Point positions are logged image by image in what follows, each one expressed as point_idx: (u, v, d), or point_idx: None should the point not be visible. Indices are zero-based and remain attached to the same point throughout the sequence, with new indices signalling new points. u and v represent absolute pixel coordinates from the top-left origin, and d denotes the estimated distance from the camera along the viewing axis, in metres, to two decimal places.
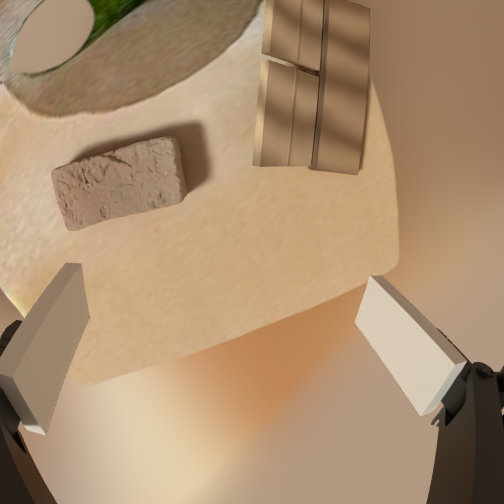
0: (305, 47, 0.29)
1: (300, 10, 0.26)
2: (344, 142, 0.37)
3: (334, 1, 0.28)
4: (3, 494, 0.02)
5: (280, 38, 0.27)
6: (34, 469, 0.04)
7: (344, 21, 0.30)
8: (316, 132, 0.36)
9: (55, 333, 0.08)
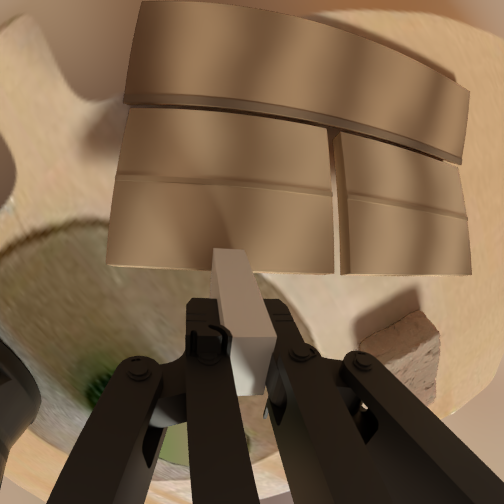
0: (293, 167, 0.16)
1: (201, 181, 0.15)
2: (436, 102, 0.18)
3: (140, 81, 0.14)
4: (218, 462, 0.05)
5: (298, 244, 0.16)
6: None
7: (194, 58, 0.14)
8: (423, 150, 0.19)
9: None
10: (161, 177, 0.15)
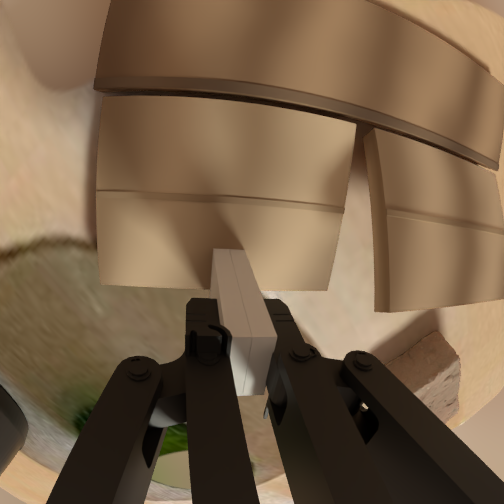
0: (305, 178, 0.14)
1: (194, 197, 0.13)
2: (475, 98, 0.13)
3: (116, 60, 0.10)
4: (217, 462, 0.05)
5: (296, 264, 0.15)
6: None
7: (187, 29, 0.10)
8: (462, 153, 0.15)
9: None
10: (147, 194, 0.13)
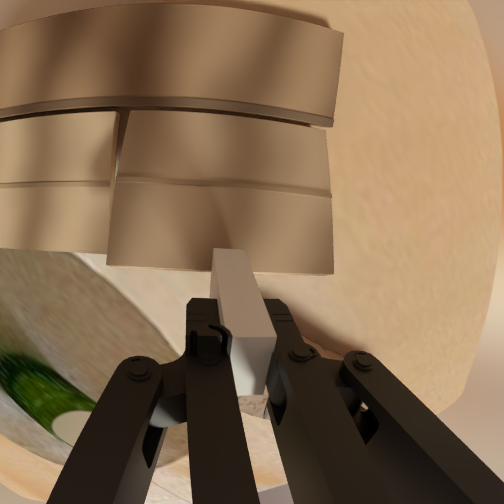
0: (76, 162, 0.15)
1: (15, 185, 0.15)
2: (276, 52, 0.15)
3: None
4: (218, 462, 0.05)
5: (79, 230, 0.17)
6: None
7: (11, 75, 0.12)
8: (256, 113, 0.17)
9: None
10: None
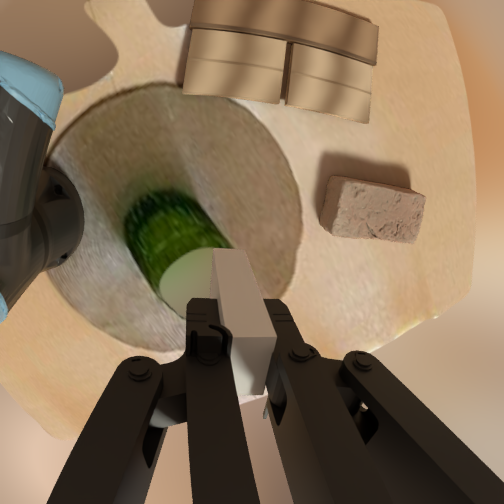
0: (266, 58, 0.32)
1: (224, 62, 0.31)
2: (352, 31, 0.31)
3: (198, 17, 0.28)
4: (218, 462, 0.05)
5: (264, 89, 0.33)
6: None
7: (223, 9, 0.28)
8: (345, 54, 0.33)
9: None
10: (207, 59, 0.31)
